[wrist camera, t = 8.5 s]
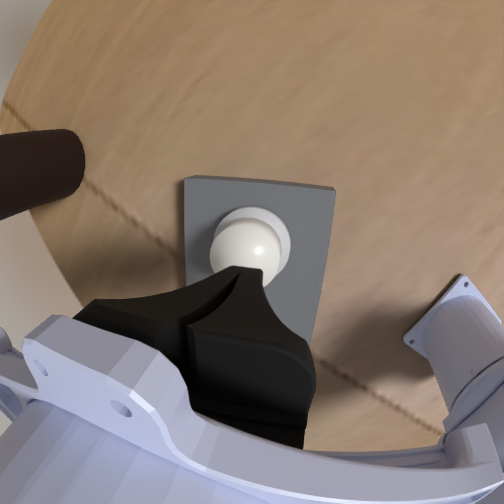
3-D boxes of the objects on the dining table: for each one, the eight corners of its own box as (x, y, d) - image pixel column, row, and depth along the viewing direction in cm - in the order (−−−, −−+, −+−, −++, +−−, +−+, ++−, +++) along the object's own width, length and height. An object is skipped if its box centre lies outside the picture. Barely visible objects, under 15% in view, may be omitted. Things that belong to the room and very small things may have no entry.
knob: (278, 280, 18) (275, 295, 16) (219, 272, 19) (209, 286, 17) (284, 221, 17) (281, 230, 15) (220, 214, 17) (209, 222, 16)
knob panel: (292, 402, 27) (290, 424, 24) (201, 386, 28) (193, 405, 25) (333, 187, 19) (337, 193, 16) (195, 175, 20) (178, 180, 17)
